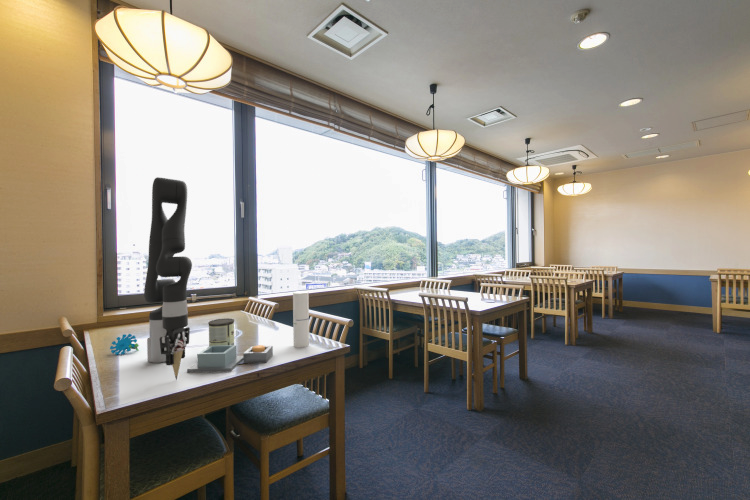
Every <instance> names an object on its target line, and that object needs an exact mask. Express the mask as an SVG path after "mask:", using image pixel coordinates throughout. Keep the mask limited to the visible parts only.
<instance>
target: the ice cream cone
mask: <svg viewBox="0 0 750 500" xmlns="http://www.w3.org/2000/svg"><path fill="white" fill-rule="evenodd" d="M170 345H172V344H170ZM184 349H185V350H186V347H185V346H184V345H183V341H182V340H178V343H177V347H175V349H174V353H173V354H174V364H173V365H171V366H172V369H173V372H174V376H175V380H176V381H177V379H178V375H179V371H180V365H181V361H182V358H181V357H182V353H183V350H184ZM170 351H171V347H170Z"/></svg>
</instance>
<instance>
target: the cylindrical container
mask: <svg viewBox="0 0 750 500" xmlns="http://www.w3.org/2000/svg"><path fill="white" fill-rule="evenodd" d="M309 299H310V298H309V291H307V290H305V291H304V290H303V291H300V290H297V291H293V292H292V315H293V317H292V318H293V319H292V323H293V325H292V326H293V328H292V329H293V332H292V333H293V334H292V335H293V338H292V339H293V347H294V348H297V349H298V348H299V349H300V348H307V347H309V345H310V317H309V316H310V313H309V312H310V311H309V309H310V308H309V307H310V306H309V305H310V304H309V301H310V300H309Z"/></svg>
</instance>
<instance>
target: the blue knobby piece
mask: <svg viewBox="0 0 750 500" xmlns="http://www.w3.org/2000/svg"><path fill="white" fill-rule="evenodd" d="M116 340H117V342H116V341H115V340H114V341H112V342H111V344H112V345H110V346H109V350H111V351H110V352H111V354H115V355H116V356H119V355H120V354H121V355H125V353H126V351H127V352H131V351H132V350H136V351H137V350H138V351H139V348H138V347H139V346H140V345H139V344H138V343H137V342H138V339H136V335H132V334H131V333H128V334H126V333H125V334H122V337H120V336H117V337H116Z"/></svg>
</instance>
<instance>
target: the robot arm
mask: <svg viewBox="0 0 750 500" xmlns="http://www.w3.org/2000/svg"><path fill="white" fill-rule="evenodd" d="M152 182H153V183H152V187H151V188H152V190H151V191H152V193H151V224H150V231H149V232H150V233H149V241H148V261H147V270H146V277H145V283H144V288H143V289H144V290H143V291H144V293H143V295H144V300H145V302H146V303H151V304H153V303H154V304H155V303H162V305H161V306H160V307H159V308H156V309H154V310H152V311H150V312H149V315H148V316H149V317H148V319H149V321H148V322H149V324H148V325H149V337H147V339H146V340H147V341H146V347H147V349H146V351H147V353H146V354H147V358H146V359H147V362H150V363H153V364H154V363H159V364H160V363H164V362H165V365H166V366H172V365H173V364H174V354H173V353H174V349H175V347H177V343H178V340H182V341H183V345H184V346H185V349H184V350H183V353H182V357H181V359H185V358H186V347H187V345H189V343H190V333H191V331H190V330H191V329H190V327H187V326H188V325H189V323H188V322H189V316H188V315H189V313H188V311H189V310H188V307H189V306H188V301H187V299H188V298H187V294H188V293H187V289H188V287H187V286H188V282H189V278H190V274H191V271H192V267H193V262H192V260H191V259H190V258H189V257H188V256H175V255H176V254H180V253H182V252H184V251H185V248H186V238H185V224H186V223H185V222H186V215H187V203H188V186H187V183H186V182H185V181H184V180H179V179H172V178H165V177H159V176H158V177H157V176H156V177H155V178H154V179H153V181H152ZM163 204H172V205H173V204H174V205H177V206H176V208H175V211H174V212H173V213H172V215H171V216H170V217H169V218H168V217H167V215H166V213H165V211H164V209H163ZM159 277H161V278H164V279H159ZM177 277H180V278H179V279H178V280H177V281H175V279H173V278H177ZM165 278H166V279H165ZM170 344H172V345H170ZM170 347H171V351H170Z"/></svg>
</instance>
